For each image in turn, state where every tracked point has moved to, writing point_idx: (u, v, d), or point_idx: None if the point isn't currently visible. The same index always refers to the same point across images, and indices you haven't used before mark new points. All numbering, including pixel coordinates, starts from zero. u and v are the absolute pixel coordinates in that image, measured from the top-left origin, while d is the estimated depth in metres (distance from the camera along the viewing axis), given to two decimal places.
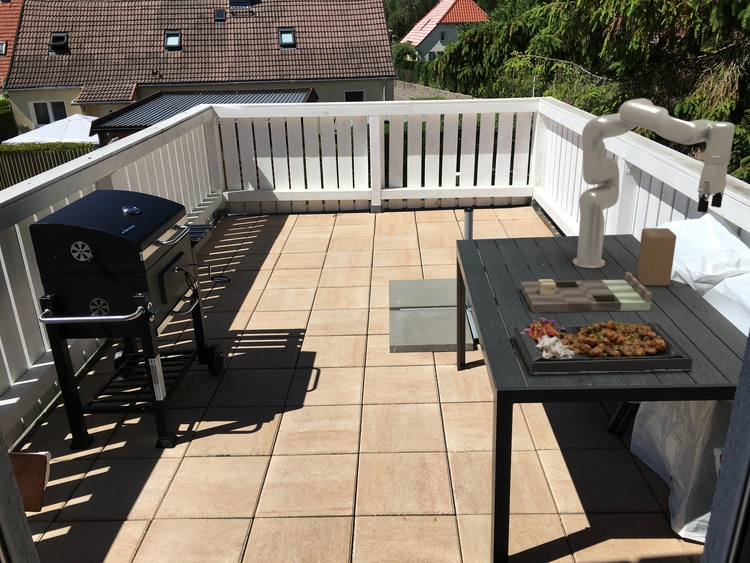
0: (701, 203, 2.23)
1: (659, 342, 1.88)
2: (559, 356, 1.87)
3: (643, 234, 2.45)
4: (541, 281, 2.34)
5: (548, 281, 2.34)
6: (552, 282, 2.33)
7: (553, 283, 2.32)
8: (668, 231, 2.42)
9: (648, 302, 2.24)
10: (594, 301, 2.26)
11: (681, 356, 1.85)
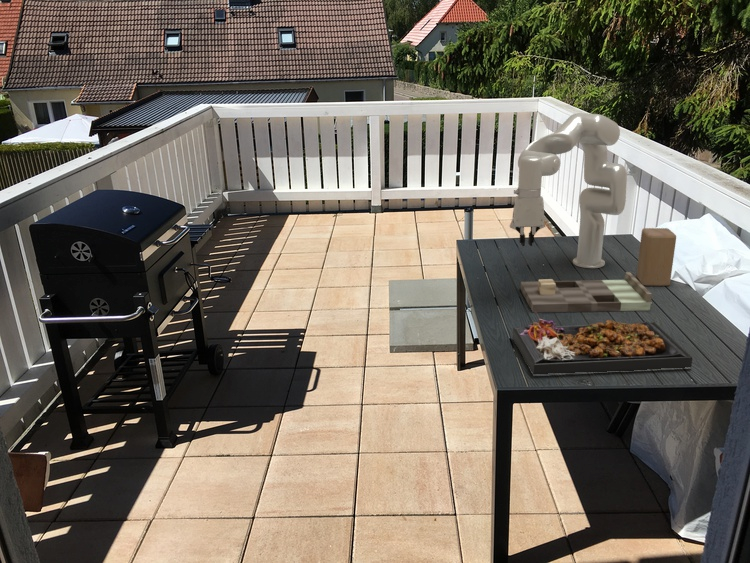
0: None
1: (658, 341, 1.88)
2: (560, 357, 1.86)
3: (643, 234, 2.45)
4: (541, 281, 2.34)
5: (548, 281, 2.34)
6: (552, 282, 2.33)
7: (553, 283, 2.32)
8: (668, 231, 2.42)
9: (648, 302, 2.24)
10: (594, 301, 2.26)
11: (681, 355, 1.85)
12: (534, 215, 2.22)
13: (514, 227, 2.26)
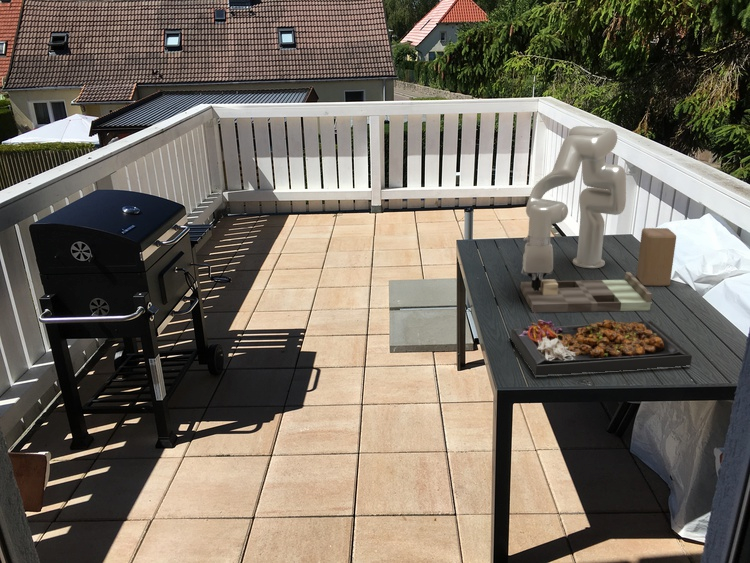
0: None
1: (658, 340, 1.89)
2: (562, 358, 1.86)
3: (643, 234, 2.45)
4: (543, 281, 2.34)
5: (550, 281, 2.34)
6: (554, 282, 2.33)
7: (555, 283, 2.32)
8: (668, 231, 2.42)
9: (648, 302, 2.24)
10: (594, 301, 2.26)
11: (680, 353, 1.86)
12: (543, 262, 2.28)
13: (526, 273, 2.32)
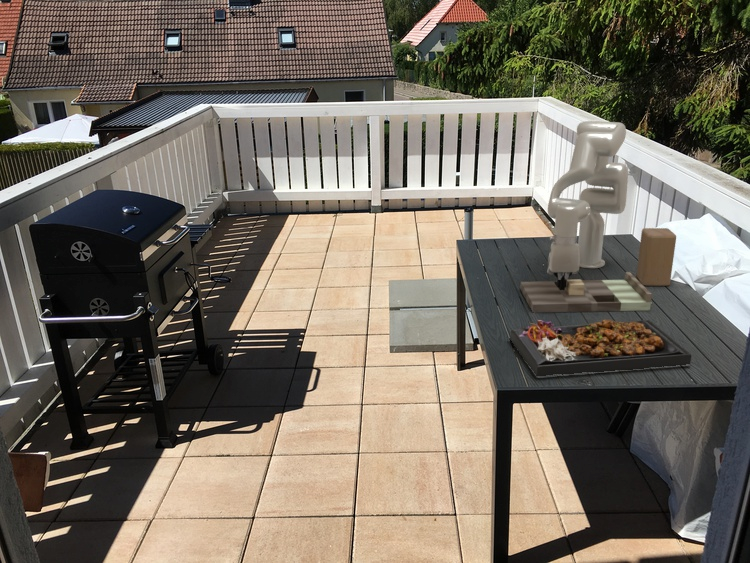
0: None
1: (657, 339, 1.90)
2: (562, 358, 1.86)
3: (643, 234, 2.45)
4: (569, 281, 2.33)
5: (576, 281, 2.33)
6: (581, 282, 2.32)
7: (582, 283, 2.31)
8: (668, 231, 2.42)
9: (648, 302, 2.24)
10: (594, 301, 2.26)
11: (680, 352, 1.87)
12: (570, 261, 2.28)
13: (552, 272, 2.32)
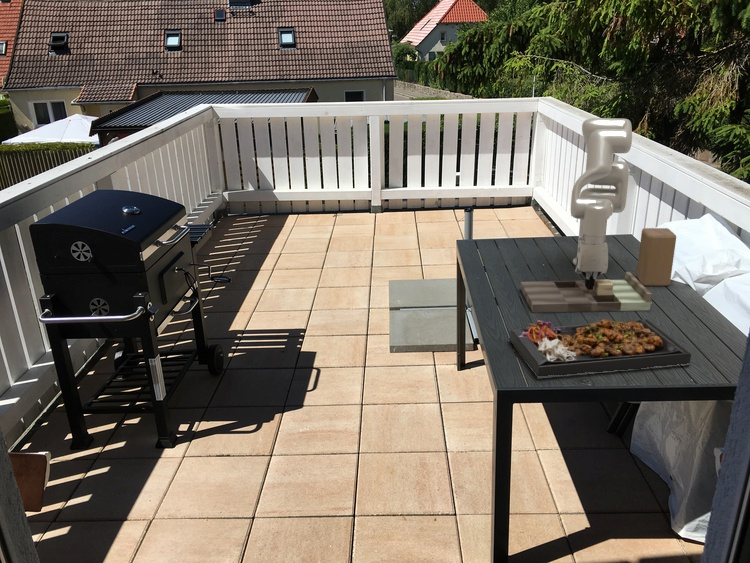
0: None
1: (657, 339, 1.90)
2: (563, 358, 1.86)
3: (643, 234, 2.45)
4: (598, 281, 2.32)
5: (605, 281, 2.32)
6: (609, 282, 2.31)
7: (610, 283, 2.30)
8: (668, 231, 2.42)
9: (648, 302, 2.24)
10: (594, 301, 2.26)
11: (679, 351, 1.87)
12: (598, 261, 2.27)
13: (580, 272, 2.31)
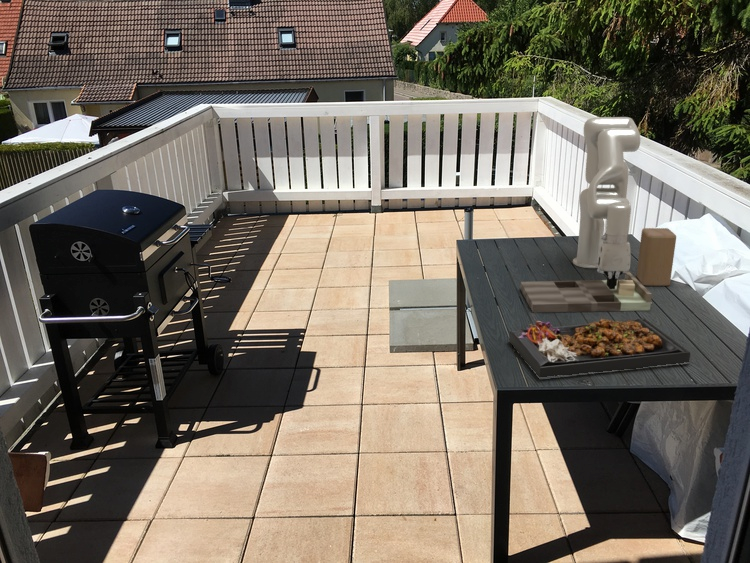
0: None
1: (656, 338, 1.91)
2: (564, 359, 1.85)
3: (643, 234, 2.45)
4: (620, 281, 2.32)
5: (627, 282, 2.31)
6: (631, 283, 2.30)
7: (632, 284, 2.29)
8: (668, 231, 2.42)
9: (648, 302, 2.24)
10: (594, 301, 2.26)
11: (679, 350, 1.88)
12: (621, 260, 2.27)
13: (602, 271, 2.31)
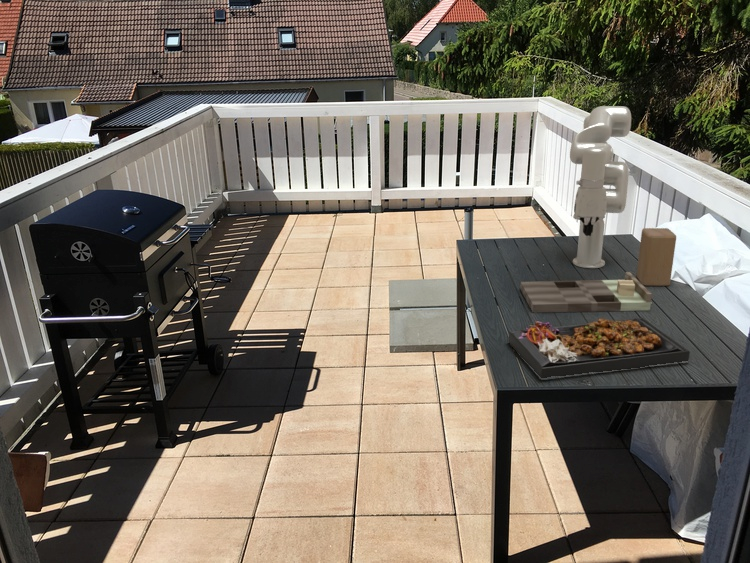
0: None
1: (656, 337, 1.91)
2: (565, 359, 1.85)
3: (643, 234, 2.45)
4: (620, 281, 2.32)
5: (627, 282, 2.31)
6: (632, 283, 2.30)
7: (632, 284, 2.29)
8: (668, 231, 2.42)
9: (648, 302, 2.24)
10: (594, 301, 2.26)
11: (678, 349, 1.89)
12: (597, 205, 2.25)
13: (578, 217, 2.29)
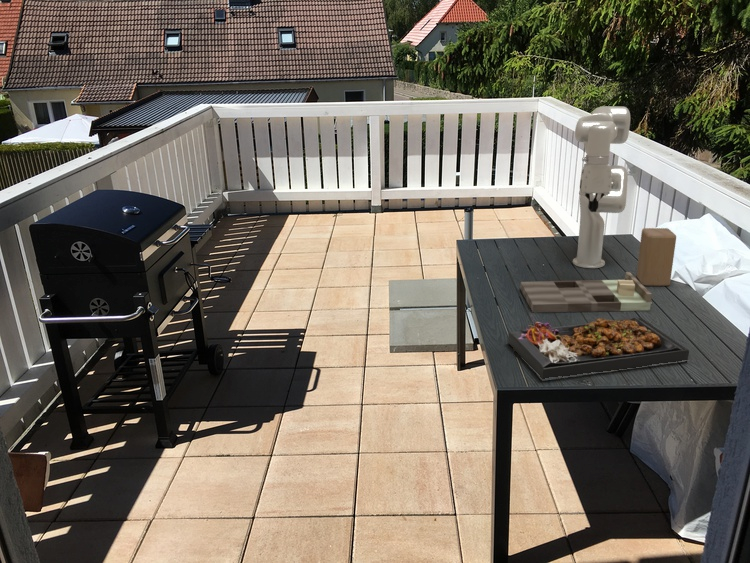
0: None
1: (655, 336, 1.91)
2: (566, 359, 1.85)
3: (643, 234, 2.45)
4: (620, 281, 2.32)
5: (627, 282, 2.31)
6: (632, 283, 2.30)
7: (632, 284, 2.29)
8: (668, 231, 2.42)
9: (648, 302, 2.24)
10: (594, 301, 2.26)
11: (678, 348, 1.89)
12: (602, 182, 2.31)
13: (584, 194, 2.35)
